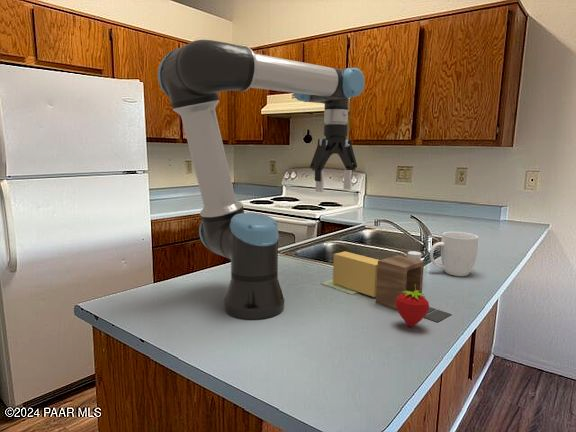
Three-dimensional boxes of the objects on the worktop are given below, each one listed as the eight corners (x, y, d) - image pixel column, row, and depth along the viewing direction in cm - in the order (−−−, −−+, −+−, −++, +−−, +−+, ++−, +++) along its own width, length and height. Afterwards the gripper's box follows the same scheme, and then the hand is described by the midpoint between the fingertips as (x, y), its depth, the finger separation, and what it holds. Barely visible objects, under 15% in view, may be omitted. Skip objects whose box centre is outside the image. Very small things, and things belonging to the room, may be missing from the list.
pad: (352, 294, 112) (352, 293, 112) (320, 283, 121) (320, 282, 121) (371, 287, 118) (371, 286, 118) (340, 277, 127) (340, 277, 127)
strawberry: (397, 318, 96) (400, 278, 95) (430, 325, 93) (433, 284, 91) (390, 327, 91) (392, 285, 90) (424, 335, 88) (427, 291, 86)
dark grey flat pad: (437, 322, 94) (437, 321, 94) (407, 312, 100) (407, 311, 100) (451, 314, 99) (451, 314, 99) (421, 305, 105) (421, 304, 105)
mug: (435, 278, 127) (438, 238, 125) (422, 268, 138) (425, 231, 136) (481, 278, 127) (485, 238, 125) (465, 268, 138) (468, 231, 136)
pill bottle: (409, 279, 125) (411, 249, 124) (425, 284, 122) (427, 252, 120) (400, 283, 122) (402, 252, 120) (416, 288, 118) (418, 256, 116)
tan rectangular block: (374, 297, 109) (375, 265, 107) (332, 283, 120) (333, 253, 118) (384, 293, 112) (386, 261, 110) (343, 279, 123) (344, 251, 121)
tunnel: (402, 312, 100) (404, 267, 98) (375, 302, 106) (377, 260, 104) (421, 303, 106) (424, 261, 104) (395, 295, 112) (397, 255, 110)
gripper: (317, 121, 117) (315, 193, 120) (369, 125, 133) (366, 189, 136) (299, 122, 122) (298, 191, 126) (351, 126, 139) (349, 187, 142)
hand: (333, 190), depth 131 cm, fingers open, 13 cm apart
